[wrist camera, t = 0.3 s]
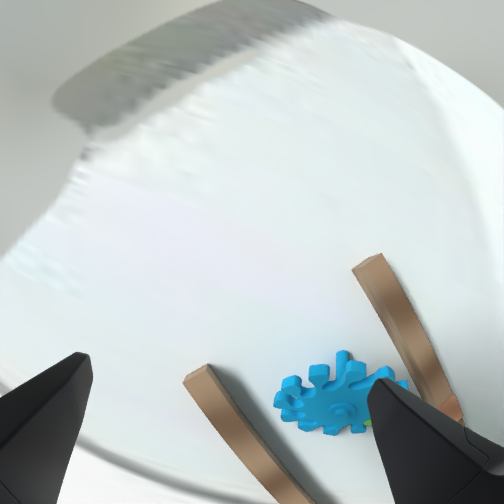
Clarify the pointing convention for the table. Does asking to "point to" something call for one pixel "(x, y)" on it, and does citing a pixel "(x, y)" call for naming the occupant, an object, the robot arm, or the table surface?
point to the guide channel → (406, 342)
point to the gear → (331, 396)
